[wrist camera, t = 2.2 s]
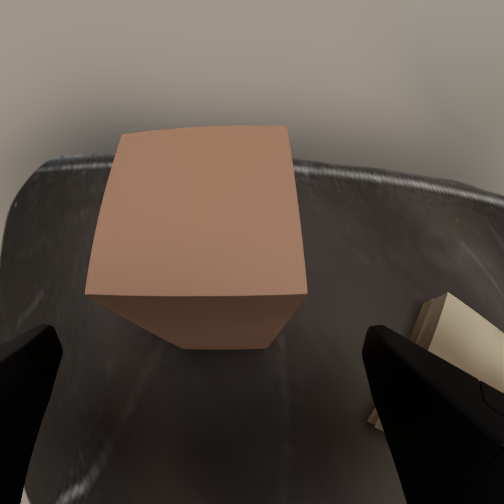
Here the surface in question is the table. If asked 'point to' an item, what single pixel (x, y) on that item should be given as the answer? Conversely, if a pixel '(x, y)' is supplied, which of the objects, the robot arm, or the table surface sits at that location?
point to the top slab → (463, 341)
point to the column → (201, 236)
